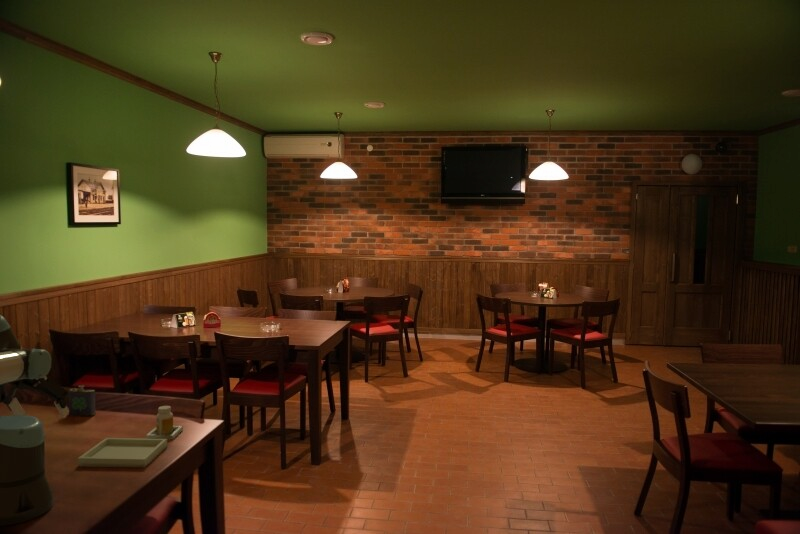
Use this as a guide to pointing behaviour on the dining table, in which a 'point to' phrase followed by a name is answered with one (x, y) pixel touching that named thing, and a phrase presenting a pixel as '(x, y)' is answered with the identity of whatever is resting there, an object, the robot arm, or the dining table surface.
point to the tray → (123, 452)
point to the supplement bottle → (164, 420)
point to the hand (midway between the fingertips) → (43, 415)
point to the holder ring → (153, 434)
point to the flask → (81, 402)
